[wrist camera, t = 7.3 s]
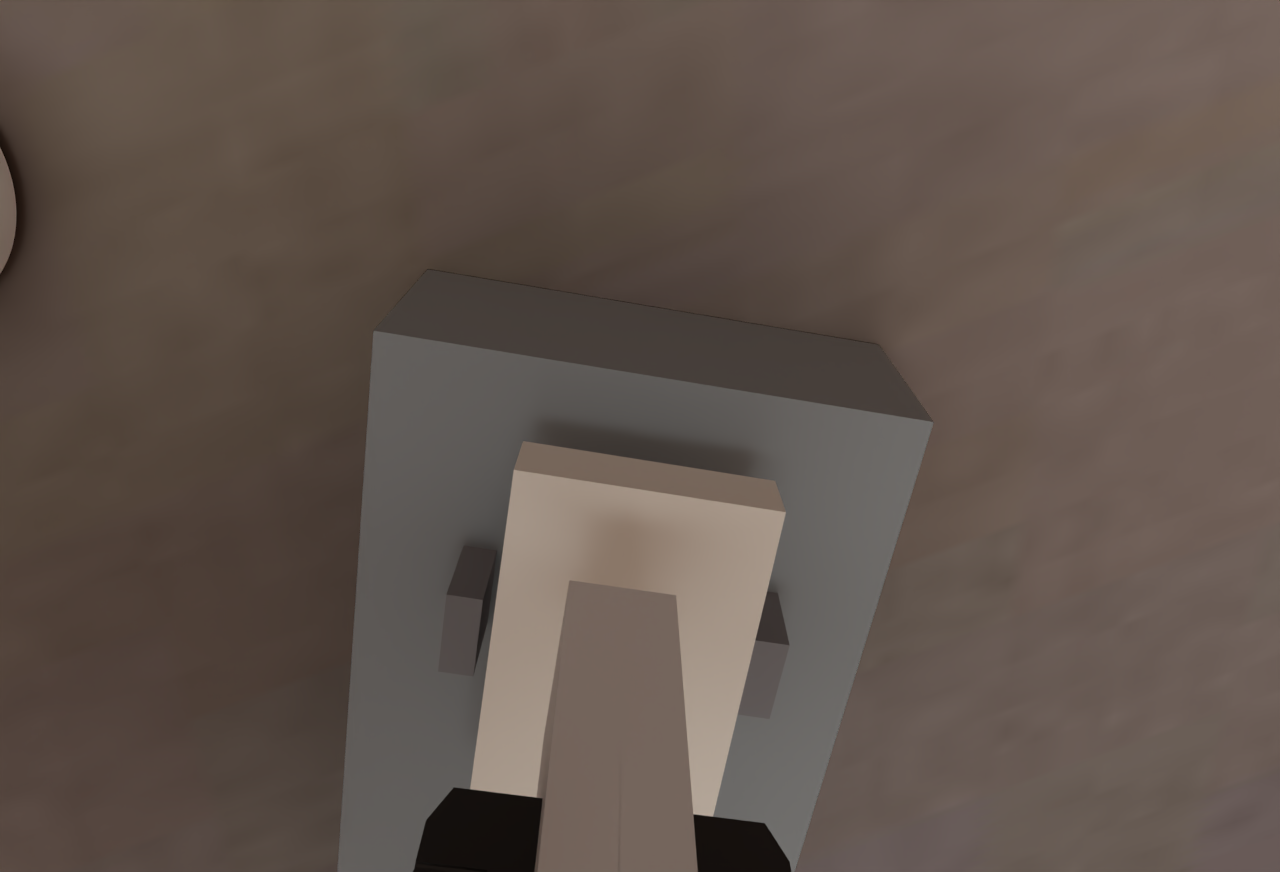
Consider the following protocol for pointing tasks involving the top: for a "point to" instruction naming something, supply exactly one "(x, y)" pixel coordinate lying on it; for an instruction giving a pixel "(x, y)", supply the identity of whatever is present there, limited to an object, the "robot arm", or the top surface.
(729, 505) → the rocker
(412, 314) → the switch unit
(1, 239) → the can
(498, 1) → the top surface
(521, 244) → the top surface
